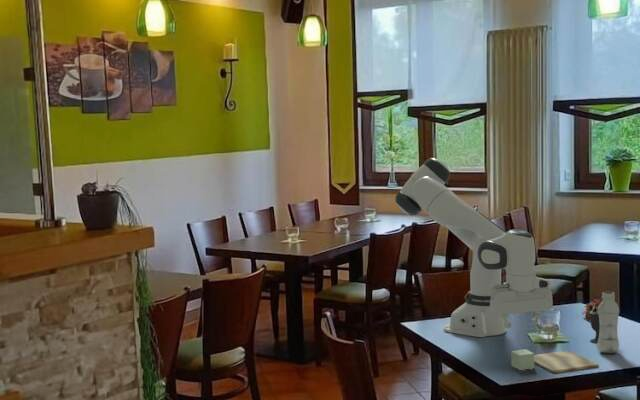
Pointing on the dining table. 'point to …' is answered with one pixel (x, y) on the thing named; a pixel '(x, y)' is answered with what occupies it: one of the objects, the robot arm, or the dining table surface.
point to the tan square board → (563, 361)
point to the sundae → (594, 321)
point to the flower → (589, 307)
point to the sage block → (522, 359)
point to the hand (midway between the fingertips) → (521, 326)
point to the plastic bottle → (608, 324)
